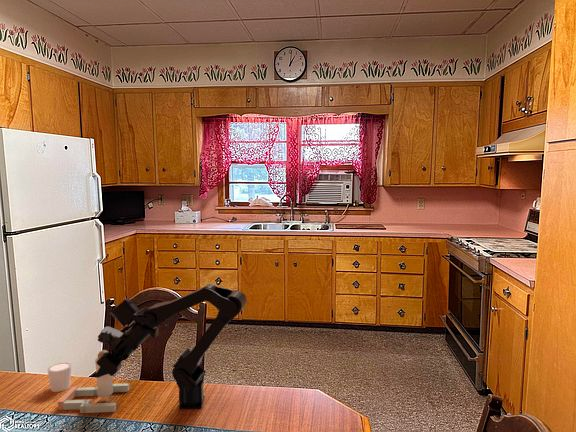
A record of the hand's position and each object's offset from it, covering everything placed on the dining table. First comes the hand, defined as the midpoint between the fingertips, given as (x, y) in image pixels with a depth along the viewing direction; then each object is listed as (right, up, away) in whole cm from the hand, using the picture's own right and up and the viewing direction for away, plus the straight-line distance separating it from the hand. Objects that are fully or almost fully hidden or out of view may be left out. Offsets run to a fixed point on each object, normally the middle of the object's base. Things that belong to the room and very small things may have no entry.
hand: (99, 372), depth 124 cm
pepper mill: (+2, -7, +1) cm, 7 cm away
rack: (-1, -9, +1) cm, 9 cm away
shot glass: (-17, -8, +9) cm, 21 cm away
